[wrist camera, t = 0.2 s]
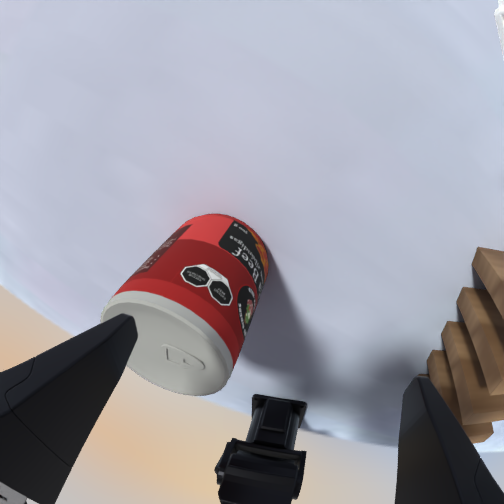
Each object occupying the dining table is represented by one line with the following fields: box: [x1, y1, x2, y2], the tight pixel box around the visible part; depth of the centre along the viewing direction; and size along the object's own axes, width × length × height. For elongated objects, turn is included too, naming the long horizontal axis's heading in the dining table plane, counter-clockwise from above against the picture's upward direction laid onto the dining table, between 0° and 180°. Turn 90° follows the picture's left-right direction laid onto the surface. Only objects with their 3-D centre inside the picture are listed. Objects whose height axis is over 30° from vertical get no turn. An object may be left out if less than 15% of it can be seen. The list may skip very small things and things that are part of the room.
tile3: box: [441, 321, 504, 425], centre depth 18 cm, size 2×5×10 cm, turn 90°
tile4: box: [457, 287, 504, 396], centre depth 16 cm, size 2×5×10 cm, turn 90°
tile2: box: [427, 350, 494, 444], centre depth 20 cm, size 2×5×10 cm, turn 90°
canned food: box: [101, 214, 269, 396], centre depth 20 cm, size 8×8×11 cm
